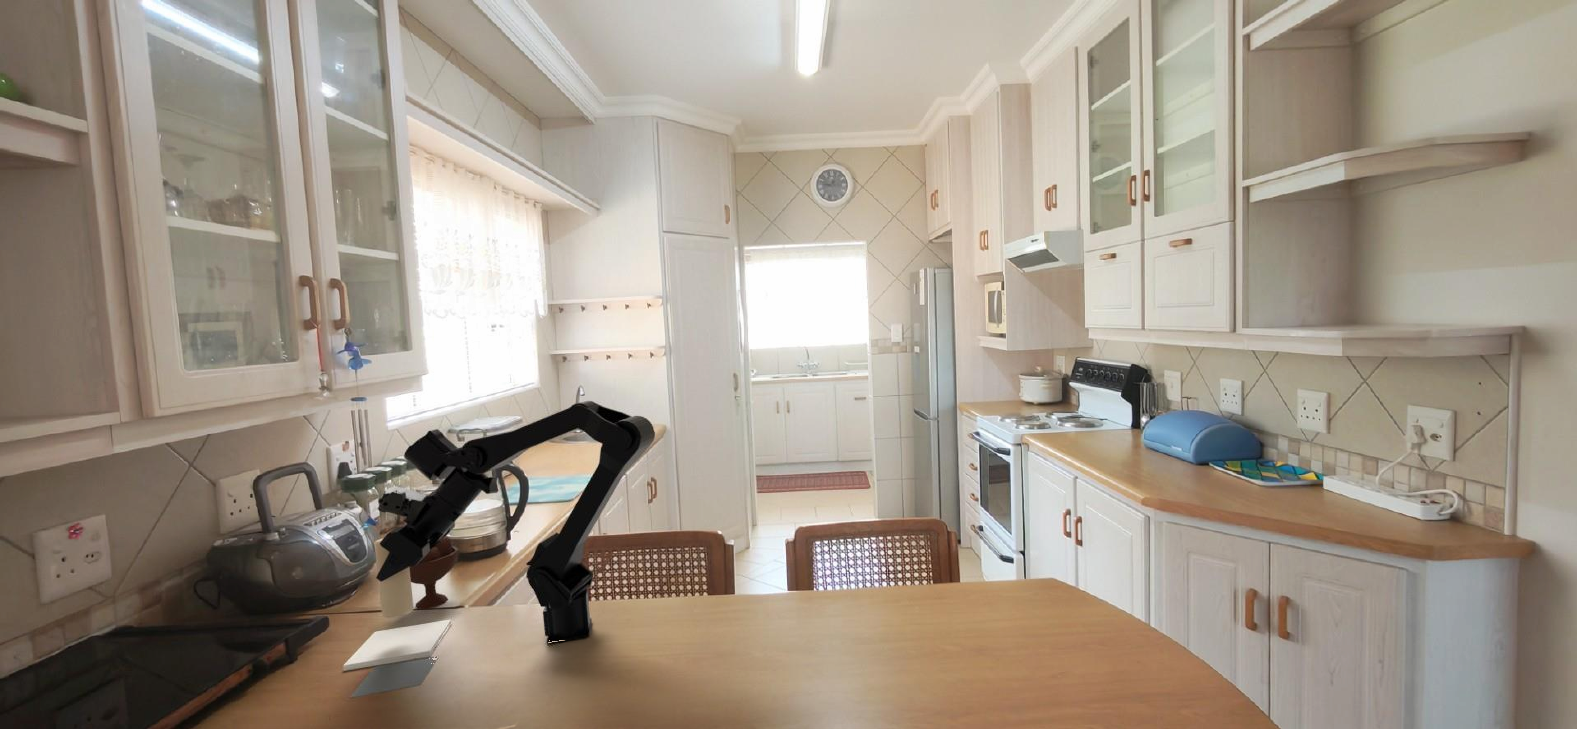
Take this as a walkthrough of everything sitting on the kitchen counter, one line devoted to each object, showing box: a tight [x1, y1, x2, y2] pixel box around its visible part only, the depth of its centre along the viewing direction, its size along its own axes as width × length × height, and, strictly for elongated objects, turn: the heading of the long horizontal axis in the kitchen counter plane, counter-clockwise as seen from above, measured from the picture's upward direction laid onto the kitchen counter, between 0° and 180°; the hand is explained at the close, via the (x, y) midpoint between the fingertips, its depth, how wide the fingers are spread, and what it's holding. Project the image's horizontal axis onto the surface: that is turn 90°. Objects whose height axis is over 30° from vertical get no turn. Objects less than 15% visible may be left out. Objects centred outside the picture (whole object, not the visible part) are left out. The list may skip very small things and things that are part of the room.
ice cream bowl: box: [409, 535, 460, 610], centre depth 122 cm, size 11×11×15 cm
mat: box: [349, 655, 438, 699], centre depth 94 cm, size 9×9×1 cm
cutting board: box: [343, 618, 453, 672], centre depth 104 cm, size 12×12×1 cm
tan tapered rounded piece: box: [373, 537, 415, 619], centre depth 103 cm, size 4×4×12 cm
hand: (384, 574), depth 103 cm, fingers closed on tan tapered rounded piece, 4 cm apart
